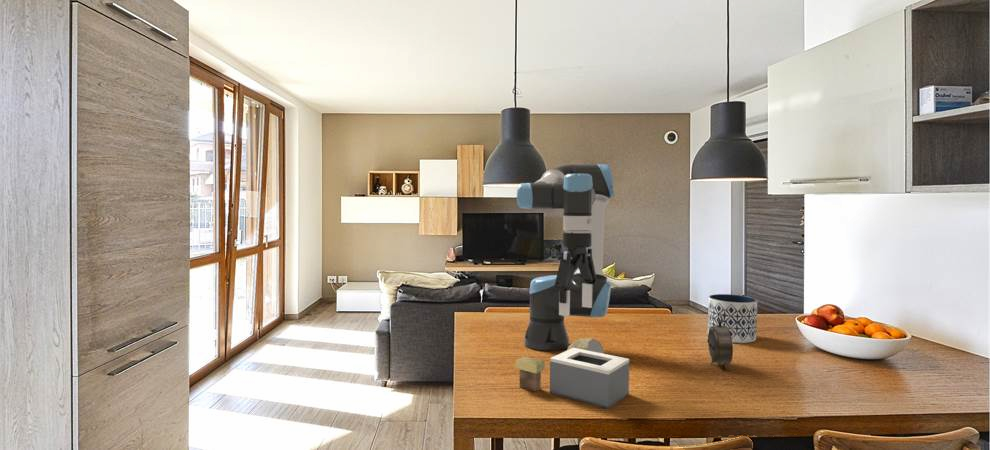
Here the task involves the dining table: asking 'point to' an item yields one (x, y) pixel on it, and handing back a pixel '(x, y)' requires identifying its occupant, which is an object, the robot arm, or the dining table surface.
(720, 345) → the alarm clock
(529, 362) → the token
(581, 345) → the coral
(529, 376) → the stand
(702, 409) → the dining table surface
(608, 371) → the box
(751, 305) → the planter
